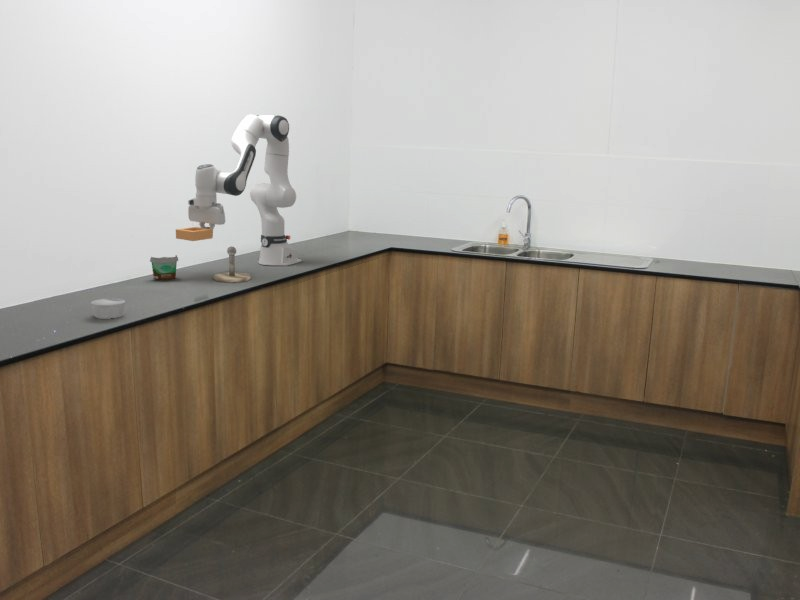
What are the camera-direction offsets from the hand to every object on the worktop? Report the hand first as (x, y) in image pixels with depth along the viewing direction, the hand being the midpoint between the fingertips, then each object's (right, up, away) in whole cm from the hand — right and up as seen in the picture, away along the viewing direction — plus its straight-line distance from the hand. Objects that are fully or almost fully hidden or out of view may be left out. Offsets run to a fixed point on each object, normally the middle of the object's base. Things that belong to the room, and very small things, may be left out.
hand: (207, 232), depth 348 cm
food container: (-15, -21, -10) cm, 28 cm away
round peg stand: (+12, -21, -4) cm, 24 cm away
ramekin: (-16, -36, -76) cm, 85 cm away
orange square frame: (-3, -3, -4) cm, 6 cm away
